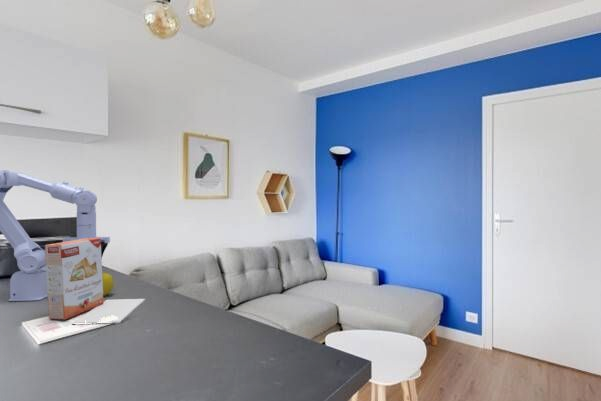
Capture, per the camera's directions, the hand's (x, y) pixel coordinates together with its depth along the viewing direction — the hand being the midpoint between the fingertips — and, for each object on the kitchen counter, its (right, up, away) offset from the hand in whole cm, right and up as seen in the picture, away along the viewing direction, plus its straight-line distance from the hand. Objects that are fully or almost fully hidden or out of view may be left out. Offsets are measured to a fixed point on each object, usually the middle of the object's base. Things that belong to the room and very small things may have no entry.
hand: (86, 263), depth 118 cm
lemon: (+8, -11, -3) cm, 14 cm away
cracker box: (+10, -11, -19) cm, 24 cm away
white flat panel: (+19, -11, -18) cm, 28 cm away
